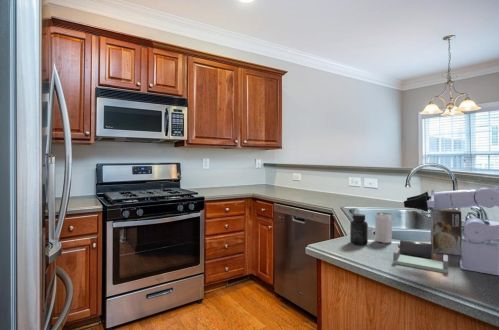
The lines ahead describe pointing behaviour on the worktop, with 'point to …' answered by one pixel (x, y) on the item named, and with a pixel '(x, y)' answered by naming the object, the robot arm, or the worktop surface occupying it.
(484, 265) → the robot arm
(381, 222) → the can
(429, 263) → the holder
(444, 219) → the coffee box
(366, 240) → the supplement bottle
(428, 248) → the cell
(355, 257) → the worktop surface
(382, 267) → the worktop surface
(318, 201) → the worktop surface
